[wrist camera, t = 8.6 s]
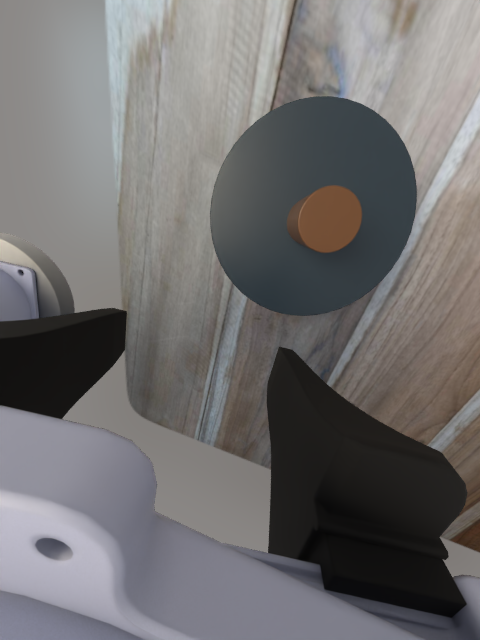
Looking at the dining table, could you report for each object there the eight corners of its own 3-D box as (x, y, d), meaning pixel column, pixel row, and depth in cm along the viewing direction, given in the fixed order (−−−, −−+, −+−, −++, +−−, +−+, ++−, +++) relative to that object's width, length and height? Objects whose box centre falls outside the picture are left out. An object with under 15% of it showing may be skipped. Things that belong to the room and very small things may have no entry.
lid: (200, 289, 16) (174, 317, 11) (234, 83, 12) (217, -12, 7) (359, 326, 16) (402, 370, 11) (443, 134, 12) (565, 74, 7)
